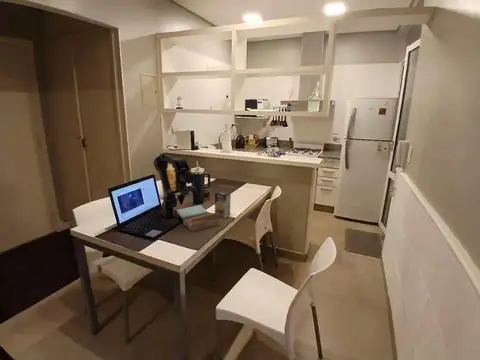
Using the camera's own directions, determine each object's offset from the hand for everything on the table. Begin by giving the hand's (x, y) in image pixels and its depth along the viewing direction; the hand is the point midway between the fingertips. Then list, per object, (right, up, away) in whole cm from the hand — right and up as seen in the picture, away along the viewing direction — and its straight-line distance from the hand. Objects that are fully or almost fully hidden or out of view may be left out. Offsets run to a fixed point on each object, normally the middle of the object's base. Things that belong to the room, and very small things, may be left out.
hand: (181, 204), depth 165 cm
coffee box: (+24, -9, +19) cm, 32 cm away
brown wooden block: (+12, -13, +4) cm, 18 cm away
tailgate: (+7, -8, +9) cm, 14 cm away
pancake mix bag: (-20, +1, +51) cm, 55 cm away
